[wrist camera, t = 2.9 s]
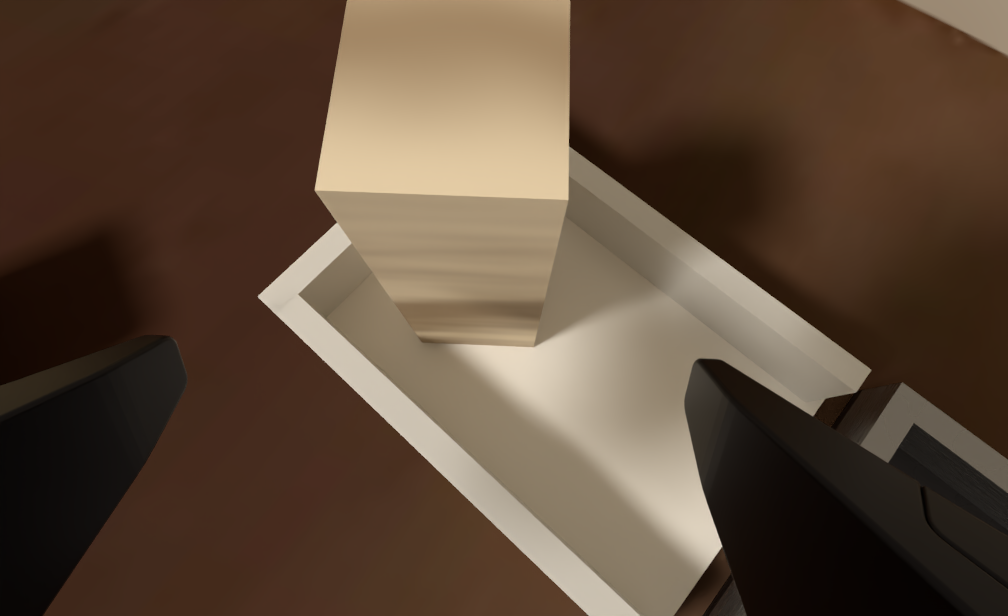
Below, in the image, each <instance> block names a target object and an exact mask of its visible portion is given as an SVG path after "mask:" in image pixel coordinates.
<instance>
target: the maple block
mask: <svg viewBox="0 0 1008 616" xmlns="http://www.w3.org/2000/svg"><path fill="white" fill-rule="evenodd" d="M569 76H570V0H347V5H346V11H345V16H344V22H343V28H342V34H341V40H340V46H339V51H338V57H337V63H336V69H335V75H334V81H333V87H332V92H331V98H330V104H329V110H328V116H327V122H326V127H325V133H324V139H323V145H322V151H321V157H320V163H319V168H318V174H317V180H316V186H315V192H316V193H317V194H318V196H319V197H320V199H321V200H322V201H323V203H324V204H325V206H326V207H327V209H328V210H329V211H330V213H331V214H332V216H333V217H334V218H335V220H336V221H337V223H338V224H339V226H340V227H341V228H342V230H343V231H344V233H345V234H346V235H347V237H348V238H349V240H350V241H351V243H352V244H353V245H354V247H355V248H356V250H357V251H358V253H359V254H360V255H361V257H362V258H363V260H364V261H365V262H366V264H367V265H368V267H369V268H370V270H371V271H372V272H373V274H374V275H375V277H376V278H377V279H378V281H379V282H380V284H381V285H382V287H383V288H384V289H385V291H386V292H387V294H388V295H389V297H390V298H391V299H392V301H393V302H394V304H395V305H396V306H397V308H398V309H399V311H400V312H401V314H402V315H403V316H404V318H405V319H406V321H407V322H408V323H409V325H410V326H411V328H412V329H413V331H414V332H415V333H416V335H417V336H418V338H419V339H420V340H421V342H422V343H444V344H468V345H491V346H515V347H534V343H535V339H536V335H537V330H538V326H539V322H540V318H541V314H542V309H543V305H544V301H545V297H546V293H547V288H548V284H549V280H550V276H551V271H552V267H553V263H554V259H555V255H556V250H557V246H558V242H559V238H560V233H561V229H562V225H563V221H564V217H565V212H566V208H567V204H568V193H569Z"/></svg>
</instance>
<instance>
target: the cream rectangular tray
mask: <svg viewBox="0 0 1008 616" xmlns="http://www.w3.org/2000/svg"><path fill="white" fill-rule="evenodd" d="M258 298H260V299H261V300H262V301H263V302H264V303H265V304H266V305H267V306H268V307H269V308H270V309H271V310H272V311H273V312H274V313H275V314H276V315H277V316H278V317H279V318H280V319H281V320H282V321H283V322H284V323H285V324H287V325H288V326H289V327H290V328H291V329H292V330H293V331H294V332H295V333H296V334H297V335H298V336H299V337H300V338H301V339H302V340H303V341H304V342H305V343H306V344H307V345H308V346H309V347H310V348H311V349H312V350H314V351H315V352H316V353H317V354H318V355H319V356H320V357H321V358H322V359H323V360H324V361H325V362H326V363H327V364H328V365H329V366H330V367H331V368H332V369H333V370H334V371H335V372H336V373H337V374H338V375H339V376H341V377H342V378H343V379H344V380H345V381H346V382H347V383H348V384H349V385H350V386H351V387H352V388H353V389H354V390H355V391H356V392H357V393H358V394H359V395H360V396H361V397H362V398H363V399H364V400H365V401H367V402H368V403H369V404H370V405H371V406H372V407H373V408H374V409H375V410H376V411H377V412H378V413H379V414H380V415H381V416H382V417H383V418H384V419H385V420H386V421H387V422H388V423H389V424H390V425H391V426H392V427H394V428H395V429H396V430H397V431H398V432H399V433H400V434H401V435H402V436H403V437H404V438H405V439H406V440H407V441H408V442H409V443H410V444H411V445H412V446H413V447H414V448H415V449H416V450H417V451H418V452H419V453H421V454H422V455H423V456H424V457H425V458H426V459H427V460H428V461H429V462H430V463H431V464H432V465H433V466H434V467H435V468H436V469H437V470H438V471H439V472H440V473H441V474H442V475H443V476H444V477H445V478H446V479H448V480H449V481H450V482H451V483H452V484H453V485H454V486H455V487H456V488H457V489H458V490H459V491H460V492H461V493H462V494H463V495H464V496H465V497H466V498H467V499H468V500H469V501H470V502H471V503H472V504H474V505H475V506H476V507H477V508H478V509H479V510H480V511H481V512H482V513H483V514H484V515H485V516H486V517H487V518H488V519H489V520H490V521H491V522H492V523H493V524H494V525H495V526H496V527H497V528H498V529H499V530H501V531H502V532H503V533H504V534H505V535H506V536H507V537H508V538H509V539H510V540H511V541H512V542H513V543H514V544H515V545H516V546H517V547H518V548H519V549H520V550H521V551H522V552H523V553H524V554H525V555H526V556H528V557H529V558H530V559H531V560H532V561H533V562H534V563H535V564H536V565H537V566H538V567H539V568H540V569H541V570H542V571H543V572H544V573H545V574H546V575H547V576H548V577H549V578H550V579H551V580H552V581H553V582H555V583H556V584H557V585H558V586H559V587H560V588H561V589H562V590H563V591H564V592H565V593H566V594H567V595H568V596H569V597H570V598H571V599H572V600H573V601H574V602H575V603H576V604H577V605H578V606H579V607H581V608H582V609H583V610H584V611H585V612H586V613H587V614H588V615H589V616H674V615H675V613H676V612H677V610H678V609H679V607H680V606H681V605H682V603H683V602H684V600H685V599H686V597H687V596H688V595H689V593H690V592H691V590H692V589H693V587H694V586H695V585H696V583H697V582H698V580H699V579H700V577H701V576H702V575H703V573H704V572H705V570H706V569H707V567H708V566H709V565H710V563H711V562H712V560H713V559H714V557H715V556H716V555H717V553H718V552H719V550H720V549H721V547H722V545H721V542H720V539H719V536H718V533H717V530H716V527H715V525H714V522H713V519H712V516H711V513H710V510H709V507H708V505H707V502H706V498H705V495H704V492H703V489H702V485H701V481H700V477H699V473H698V468H697V464H696V459H695V455H694V450H693V446H692V441H691V437H690V432H689V428H688V423H687V419H686V414H685V409H684V399H685V394H686V390H687V385H688V381H689V377H690V373H691V369H692V366H693V364H694V362H695V361H696V360H697V359H699V358H706V359H720V360H723V361H724V362H726V363H728V364H729V365H731V366H733V367H734V368H736V369H737V370H739V371H741V372H742V373H744V374H745V375H747V376H749V377H750V378H752V379H753V380H755V381H757V382H758V383H760V384H762V385H763V386H765V387H766V388H768V389H770V390H771V391H773V392H774V393H776V394H778V395H779V396H781V397H782V398H784V399H786V400H787V401H789V402H791V403H792V404H794V405H795V406H797V407H799V408H800V409H802V410H803V411H805V412H807V413H808V414H810V415H812V416H814V414H815V413H816V411H817V410H818V409H819V407H820V406H821V404H822V403H823V401H824V400H825V399H826V398H831V397H836V396H841V395H846V394H851V393H856V392H857V391H858V389H859V388H860V386H861V385H862V383H863V382H864V380H865V379H866V377H867V376H868V375H869V373H870V372H871V369H870V368H868V367H867V366H866V365H864V364H863V363H862V362H860V361H859V360H857V359H856V358H855V357H853V356H852V355H851V354H849V353H848V352H847V351H845V350H844V349H843V348H841V347H840V346H839V345H837V344H836V343H834V342H833V341H832V340H830V339H829V338H828V337H826V336H825V335H824V334H822V333H821V332H820V331H818V330H817V329H816V328H814V327H813V326H811V325H810V324H809V323H807V322H806V321H805V320H803V319H802V318H801V317H799V316H798V315H797V314H795V313H794V312H793V311H791V310H790V309H788V308H787V307H786V306H784V305H783V304H782V303H780V302H779V301H778V300H776V299H775V298H774V297H772V296H771V295H770V294H768V293H767V292H765V291H764V290H763V289H761V288H760V287H759V286H757V285H756V284H755V283H753V282H752V281H751V280H749V279H748V278H747V277H745V276H744V275H742V274H741V273H740V272H738V271H737V270H736V269H734V268H733V267H732V266H730V265H729V264H728V263H726V262H725V261H724V260H722V259H721V258H719V257H718V256H717V255H715V254H714V253H713V252H711V251H710V250H709V249H707V248H706V247H705V246H703V245H702V244H701V243H699V242H698V241H696V240H695V239H694V238H692V237H691V236H690V235H688V234H687V233H686V232H684V231H683V230H682V229H680V228H679V227H678V226H676V225H675V224H673V223H672V222H671V221H669V220H668V219H667V218H665V217H664V216H663V215H661V214H660V213H659V212H657V211H656V210H654V209H653V208H652V207H650V206H649V205H648V204H646V203H645V202H644V201H642V200H641V199H640V198H638V197H637V196H636V195H634V194H633V193H631V192H630V191H629V190H627V189H626V188H625V187H623V186H622V185H621V184H619V183H618V182H617V181H615V180H614V179H613V178H611V177H610V176H608V175H607V174H606V173H604V172H603V171H602V170H600V169H599V168H598V167H596V166H595V165H594V164H592V163H591V162H590V161H588V160H587V159H585V158H584V157H583V156H581V155H580V154H579V153H577V152H576V151H575V150H573V149H572V148H571V147H569V193H568V204H567V208H566V212H565V217H564V221H563V225H562V229H561V233H560V238H559V242H558V246H557V250H556V255H555V259H554V263H553V267H552V271H551V276H550V280H549V284H548V288H547V293H546V297H545V301H544V305H543V309H542V314H541V318H540V322H539V326H538V330H537V335H536V339H535V343H534V347H515V346H491V345H468V344H444V343H422V342H421V340H420V339H419V338H418V336H417V335H416V333H415V332H414V331H413V329H412V328H411V326H410V325H409V323H408V322H407V321H406V319H405V318H404V316H403V315H402V314H401V312H400V311H399V309H398V308H397V306H396V305H395V304H394V302H393V301H392V299H391V298H390V297H389V295H388V294H387V292H386V291H385V289H384V288H383V287H382V285H381V284H380V282H379V281H378V279H377V278H376V277H375V275H374V274H373V272H372V271H371V270H370V268H369V267H368V265H367V264H366V262H365V261H364V260H363V258H362V257H361V255H360V254H359V253H358V251H357V250H356V248H355V247H354V245H353V244H352V243H351V241H350V240H349V238H348V237H347V235H346V234H345V233H344V231H343V230H342V228H341V227H340V226H339V224H338V223H336V224H335V225H334V226H333V227H332V228H331V229H330V230H329V231H328V232H327V233H326V234H324V235H323V236H322V237H321V238H320V239H319V240H318V241H317V242H316V243H315V244H314V245H313V246H312V247H310V248H309V249H308V250H307V251H306V252H305V253H304V254H303V255H302V256H301V257H300V258H299V259H298V260H296V261H295V262H294V263H293V264H292V265H291V266H290V267H289V268H288V269H287V270H286V271H285V272H284V273H282V274H281V275H280V276H279V277H278V278H277V279H276V280H275V281H274V282H273V283H272V284H271V285H270V286H268V287H267V288H266V289H265V290H264V291H263V292H262V293H261V294H260V295H259V296H258Z"/></svg>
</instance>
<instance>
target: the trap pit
mask: <svg viewBox="0 0 1008 616" xmlns="http://www.w3.org/2000/svg"><path fill="white" fill-rule="evenodd" d="M831 428H833V429H834V430H836V431H837V432H839V433H841V434H842V435H844V436H845V437H847V438H849V439H850V440H852V441H853V442H855V443H857V444H858V445H860V446H862V447H863V448H865V449H866V450H868V451H870V452H871V453H873V454H874V455H876V456H878V457H879V458H881V459H883V460H884V461H886V462H887V463H889V464H891V465H892V466H894V467H895V468H897V469H899V470H900V471H902V472H904V473H905V474H907V475H908V476H910V477H912V478H913V479H915V480H916V481H918V482H919V483H920V486H921V487H922V486H926V487H928V488H930V489H931V490H933V491H934V492H936V493H938V494H939V495H941V496H942V497H944V498H946V499H947V500H949V501H950V502H952V503H954V504H955V505H957V506H959V507H960V508H962V509H963V510H965V511H967V512H968V513H970V514H972V515H973V516H975V517H977V518H978V519H980V520H982V521H983V522H985V523H987V524H988V525H990V526H992V527H993V528H995V529H997V530H998V531H1000V532H1002V533H1004V534H1005V535H1007V536H1008V460H1007V459H1006V458H1005V457H1003V456H1002V455H1001V454H999V453H998V452H997V451H995V450H994V449H993V448H991V447H990V446H988V445H987V444H986V443H984V442H983V441H982V440H980V439H979V438H978V437H976V436H975V435H973V434H972V433H971V432H969V431H968V430H967V429H965V428H964V427H963V426H961V425H960V424H958V423H957V422H956V421H954V420H953V419H952V418H950V417H949V416H948V415H946V414H945V413H944V412H942V411H941V410H939V409H938V408H937V407H935V406H934V405H933V404H931V403H930V402H929V401H927V400H926V399H924V398H923V397H922V396H920V395H919V394H918V393H916V392H915V391H914V390H912V389H911V388H909V387H908V386H907V385H905V384H904V383H903V382H901V383H896V384H891V385H886V386H881V387H876V388H871V389H866V390H861V391H857V392H856V393H855V394H854V395H853V397H852V398H851V399H850V401H849V402H848V404H847V405H846V407H845V408H844V410H843V411H842V413H841V414H840V416H839V417H838V418H837V420H836V421H835V423H834V424H833V426H832V427H831ZM703 616H746V613H745V610H744V607H743V604H742V602H741V599H740V596H739V593H738V590H737V587H736V584H735V582H734V579H733V576H732V573H731V575H730V576H729V578H728V579H727V581H726V582H725V584H724V585H723V587H722V588H721V589H720V591H719V592H718V594H717V595H716V597H715V598H714V600H713V601H712V603H711V604H710V606H709V607H708V608H707V610H706V611H705V613H704V614H703Z"/></svg>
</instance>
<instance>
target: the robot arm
mask: <svg viewBox="0 0 1008 616" xmlns="http://www.w3.org/2000/svg"><path fill="white" fill-rule="evenodd" d="M186 385H187V373H186V370H185V367H184V364H183V361H182V358H181V355H180V352H179V348H178V345H177V343H176V341H175V340H174V339H173V338H172V337H170V336H162V335H145V336H141V337H138V338H135V339H133V340H130V341H127V342H124V343H121V344H118V345H115V346H113V347H110V348H107V349H104V350H101V351H98V352H95V353H93V354H90V355H87V356H84V357H81V358H78V359H76V360H73V361H70V362H67V363H64V364H61V365H58V366H56V367H53V368H50V369H47V370H44V371H41V372H38V373H36V374H33V375H30V376H27V377H24V378H21V379H19V380H16V381H13V382H10V383H7V384H4V385H1V386H0V616H43V615H44V613H45V612H46V610H47V609H48V607H49V606H50V604H51V603H52V601H53V600H54V598H55V597H56V595H57V594H58V592H59V591H60V589H61V588H62V586H63V585H64V583H65V582H66V580H67V579H68V578H69V576H70V575H71V573H72V572H73V570H74V569H75V567H76V566H77V564H78V563H79V561H80V560H81V558H82V557H83V555H84V554H85V552H86V551H87V549H88V548H89V546H90V545H91V543H92V542H93V540H94V539H95V537H96V536H97V535H98V533H99V532H100V530H101V529H102V527H103V526H104V524H105V523H106V521H107V520H108V518H109V517H110V515H111V514H112V512H113V511H114V509H115V508H116V506H117V505H118V503H119V502H120V500H121V499H122V497H123V496H124V494H125V493H126V492H127V490H128V489H129V487H130V486H131V484H132V483H133V481H134V480H135V478H136V477H137V475H138V474H139V472H140V470H141V469H142V467H143V466H144V464H145V463H146V461H147V459H148V457H149V456H150V454H151V452H152V450H153V448H154V447H155V445H156V443H157V441H158V439H159V437H160V435H161V434H162V432H163V430H164V428H165V426H166V424H167V422H168V421H169V419H170V417H171V415H172V413H173V411H174V409H175V407H176V406H177V404H178V402H179V400H180V398H181V396H182V394H183V393H184V391H185V388H186ZM684 409H685V414H686V419H687V423H688V428H689V432H690V437H691V441H692V446H693V450H694V455H695V459H696V464H697V468H698V473H699V477H700V481H701V485H702V489H703V492H704V495H705V498H706V502H707V505H708V507H709V510H710V513H711V516H712V519H713V522H714V525H715V527H716V530H717V533H718V536H719V539H720V542H721V545H722V547H723V550H724V553H725V556H726V559H727V562H728V565H729V567H730V570H731V573H732V576H733V579H734V582H735V584H736V587H737V590H738V593H739V596H740V599H741V602H742V604H743V607H744V610H745V613H746V616H1008V536H1007V535H1005V534H1004V533H1002V532H1000V531H998V530H997V529H995V528H993V527H992V526H990V525H988V524H987V523H985V522H983V521H982V520H980V519H978V518H977V517H975V516H973V515H972V514H970V513H968V512H967V511H965V510H963V509H962V508H960V507H959V506H957V505H955V504H954V503H952V502H950V501H949V500H947V499H946V498H944V497H942V496H941V495H939V494H938V493H936V492H934V491H933V490H931V489H930V488H928V487H926V486H922V487H921V486H920V483H919V482H918V481H916V480H915V479H913V478H912V477H910V476H908V475H907V474H905V473H904V472H902V471H900V470H899V469H897V468H895V467H894V466H892V465H891V464H889V463H887V462H886V461H884V460H883V459H881V458H879V457H878V456H876V455H874V454H873V453H871V452H870V451H868V450H866V449H865V448H863V447H862V446H860V445H858V444H857V443H855V442H853V441H852V440H850V439H849V438H847V437H845V436H844V435H842V434H841V433H839V432H837V431H836V430H834V429H833V428H831V427H829V426H828V425H826V424H824V423H823V422H821V421H820V420H818V419H816V418H815V417H813V416H812V415H810V414H808V413H807V412H805V411H803V410H802V409H800V408H799V407H797V406H795V405H794V404H792V403H791V402H789V401H787V400H786V399H784V398H782V397H781V396H779V395H778V394H776V393H774V392H773V391H771V390H770V389H768V388H766V387H765V386H763V385H762V384H760V383H758V382H757V381H755V380H753V379H752V378H750V377H749V376H747V375H745V374H744V373H742V372H741V371H739V370H737V369H736V368H734V367H733V366H731V365H729V364H728V363H726V362H724V361H723V360H720V359H706V358H699V359H697V360H696V361H695V362H694V364H693V366H692V369H691V373H690V377H689V381H688V385H687V390H686V394H685V399H684Z"/></svg>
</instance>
